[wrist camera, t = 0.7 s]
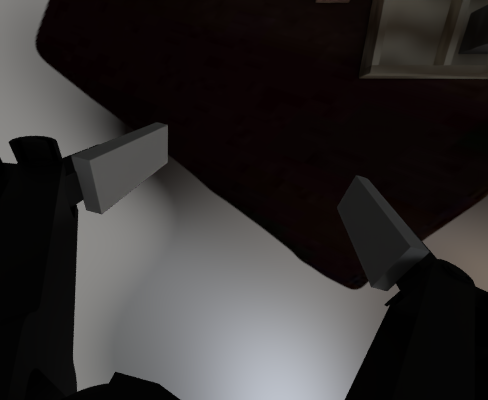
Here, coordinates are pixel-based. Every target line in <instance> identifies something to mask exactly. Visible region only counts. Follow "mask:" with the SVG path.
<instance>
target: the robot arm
mask: <svg viewBox="0 0 488 400" xmlns="http://www.w3.org/2000/svg"><path fill="white" fill-rule="evenodd" d="M9 144H10V146H11V149H12V151H13V153H14V155H15V158H16V160H17V162H18V163H17V164H12V163H3V162H2V160H1V158H0V400H180V399H179V398H177V397H176V396H175V395H173V394H172V393H170V392H169V391H168V390H166V389H165V388H164V387H162V386H161V385H160V384H158V383H154V382H151V381H147V380H143V379H140V378H136V377H132V376H129V375H125V374H122V373H118V372H115V373H114V375H113V377H112V379H111V380H110V382H109V384H101V385H97V386H93V387H89V388H86V389H83V390H81V391H78V392H77V381H76V373H75V368H74V364H73V337H74V335H73V334H74V310H75V284H76V283H75V282H76V257H77V230H78V229H77V228H78V209H77V205H76V204H77V203H79V202H80V201H82V200H84V203H85V207H86V210H88V211H92V212H95V213H99V214H103V213H104V212H105V211H107V210H108V209H109V208H110V207H112V206H113V205H114V204H115V203H117V202H118V201H119V200H120V199H122V198H123V197H124V196H126V195H127V194H128V193H129V192H131V191H132V190H133V189H134V188H136V187H137V186H138V185H140V184H141V183H142V182H143V181H145V180H146V179H147V178H148V177H150V176H151V175H152V174H154V173H155V172H156V171H157V170H159V169H160V168H161V167H162V166H164V165H165V164H166V163H167V161H168V158H167V157H168V125H165V124H161V123H157V122H156V123H154V124H151V125H149V126H146V127H143V128H141V129H138V130H136V131H133V132H131V133H128V134H126V135H123V136H120V137H118V138H116V139H113V140H110V141H108V142H105V143H103V144H100V145H95V146H93V147H90V148H89V149H85V150H82V151H80V152H78V153H75V154H72V155H69V156H67V157H64V158H62V157H61V153H60V150H59V147H58V143H57V141H56V140H55V139H53V138H50V137H45V136H25V137H19V138H15V139H12V140H11V141H9ZM337 209H338V212H339V214H340V216H341V218H342V221H343V223H344V225H345V228H346V230H347V232H348V235H349V237H350V239H351V241H352V244H353V246H354V248H355V251H356V253H357V255H358V258H359V260H360V262H361V264H362V267H363V269H364V271H365V274H366V276H367V278H368V281H369V283H370V285H371V287H373V288H377V289H381V290H384V291H388V290H389V289H390V288H391V287H392V286H393V285H394V284H397V286H398V288H399V290H400V291H399V292H398V293H397V294H396V295H395V296H394V297H392V298H391V299H390V300H389V301H388V302H387V303H386V304H385V306H388V305H390V306H389V308H388V310H387V312H386V314H385V317H384V319H383V321H382V323H381V325H380V327H379V329H378V331H377V333H376V335H375V338H374V340H373V342H372V344H371V346H370V348H369V350H368V352H367V354H366V357H365V358H364V361H363V363H362V365H361V367H360V369H359V371H358V373H357V375H356V377H355V379H354V381H353V384H352V386H351V388H350V390H349V392H348V394H347V396H346V398H345V400H488V292H486V291H484V290H482V289H480V288H478V287H476V286H475V284H474V282H473V280H472V279H471V278H470V277H469V275H467V274H466V273H465V272H464V271H463V270H461V269H460V268H458V267H457V266H455V265H453V264H451V263H450V262H447V261H445V260H442V259H437V258H436V257H435V256H434V255H433V254H432V252H431V251H430V250H429V249H428V248H427V247H426V246H425V244H424V243H423V242H421V240H420V238H419V237H418V236H416V234H415V233H414V231H413V230H412V229H411V228H410V227H409V226H407V225H406V223H405V222H404V221H403V220H402V219H401V218H400V216H399V215H398V214H397V213H396V212H395V210H394V209H393V208H392V207H391V206H390V205H389V203H388V202H387V201H386V200H385V199H384V198H383V196H382V195H381V194H380V193H379V192H378V190H377V189H376V188H375V187H374V186H373V185H372V183H371V182H370V181H369V180H368V179H367V178H364V177H360V176H357V175H356V176H355V178H354V180H353V181H352V183H351V185H350V186H349V188H348V190H347V191H346V193H345V195H344V197H343V198H342V200H341V202H340V203H339V205H338V207H337Z"/></svg>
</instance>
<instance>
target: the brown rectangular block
mask: <svg viewBox="0 0 488 400" xmlns="http://www.w3.org/2000/svg"><path fill="white" fill-rule="evenodd" d="M349 1H350V0H316V2H315V3H349Z"/></svg>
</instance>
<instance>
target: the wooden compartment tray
mask: <svg viewBox="0 0 488 400" xmlns="http://www.w3.org/2000/svg"><path fill="white" fill-rule="evenodd" d="M359 78H422V79H488V0H373V1H372V6H371V12H370V17H369V23H368V28H367V34H366V40H365V45H364V51H363V56H362V62H361V67H360V73H359Z"/></svg>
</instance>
